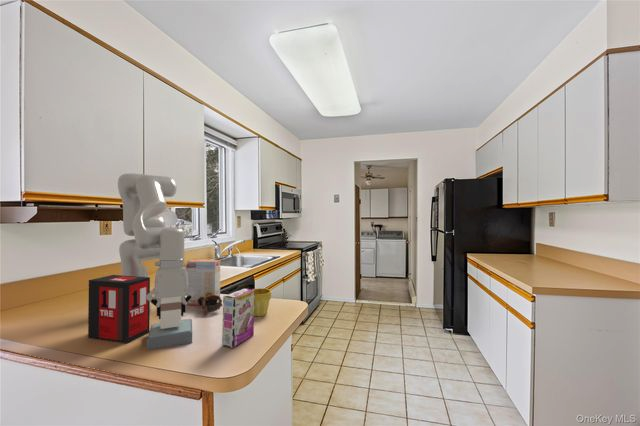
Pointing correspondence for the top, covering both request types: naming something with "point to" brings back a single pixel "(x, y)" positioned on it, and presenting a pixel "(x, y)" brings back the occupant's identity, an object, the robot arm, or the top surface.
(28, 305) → the top surface
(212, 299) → the brown clay jug
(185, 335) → the display podium
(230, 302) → the candy bar box
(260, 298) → the plant pot
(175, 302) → the cream carton
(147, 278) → the cleaning product box
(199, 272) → the cracker box
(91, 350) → the top surface
